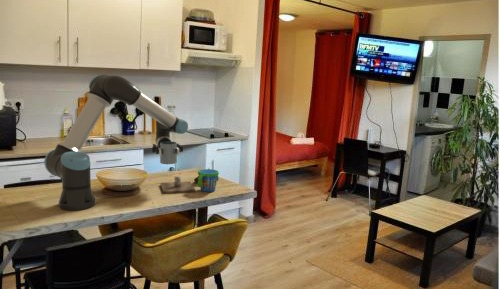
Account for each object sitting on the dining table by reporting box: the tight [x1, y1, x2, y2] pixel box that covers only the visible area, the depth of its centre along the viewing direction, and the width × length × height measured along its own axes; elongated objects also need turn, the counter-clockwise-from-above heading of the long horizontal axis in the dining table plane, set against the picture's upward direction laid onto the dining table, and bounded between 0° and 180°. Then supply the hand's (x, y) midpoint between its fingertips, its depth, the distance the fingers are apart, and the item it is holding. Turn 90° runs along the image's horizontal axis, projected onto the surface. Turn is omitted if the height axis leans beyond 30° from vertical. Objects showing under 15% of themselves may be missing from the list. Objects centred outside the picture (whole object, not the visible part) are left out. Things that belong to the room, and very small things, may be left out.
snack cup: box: [197, 168, 220, 193], centre depth 214 cm, size 16×10×10 cm
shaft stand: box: [160, 175, 196, 195], centre depth 216 cm, size 16×16×6 cm
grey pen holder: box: [159, 140, 178, 165], centre depth 207 cm, size 8×8×10 cm
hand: (169, 152), depth 202 cm, fingers closed on grey pen holder, 8 cm apart
